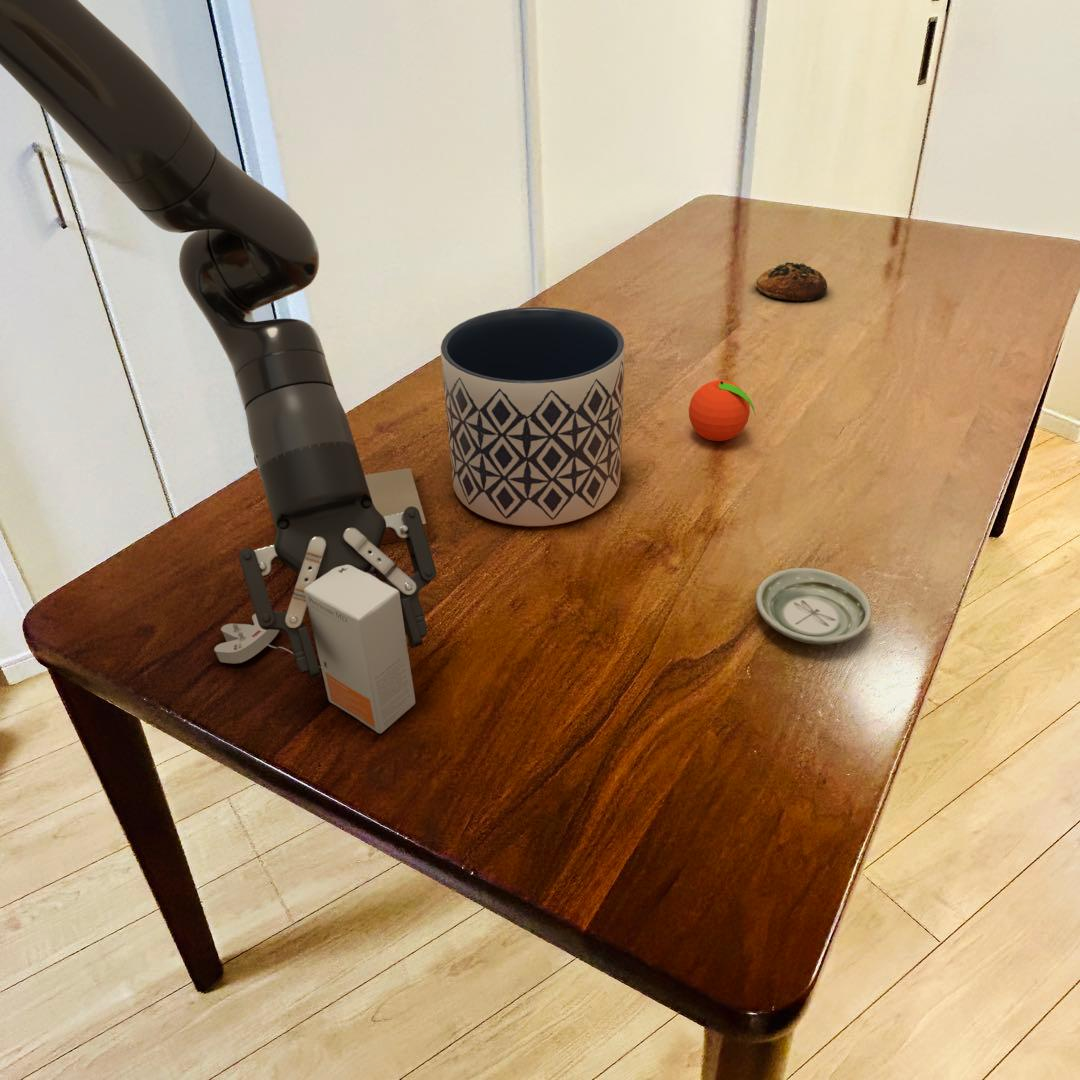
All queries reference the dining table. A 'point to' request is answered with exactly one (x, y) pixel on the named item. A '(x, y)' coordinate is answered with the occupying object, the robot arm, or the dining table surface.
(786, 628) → the saucer
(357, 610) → the cosmetic box
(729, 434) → the clementine
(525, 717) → the dining table surface
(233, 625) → the game controller
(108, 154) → the robot arm
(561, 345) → the planter
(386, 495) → the keypad
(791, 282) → the bread roll
